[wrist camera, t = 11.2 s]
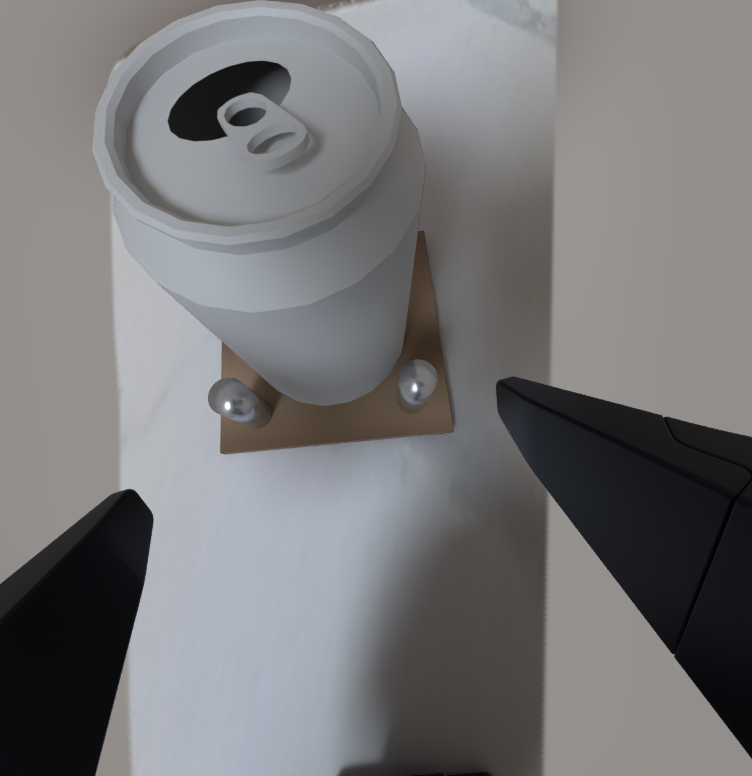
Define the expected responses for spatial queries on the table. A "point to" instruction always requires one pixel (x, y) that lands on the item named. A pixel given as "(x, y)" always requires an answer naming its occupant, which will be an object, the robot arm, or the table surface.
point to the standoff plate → (353, 419)
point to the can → (271, 189)
